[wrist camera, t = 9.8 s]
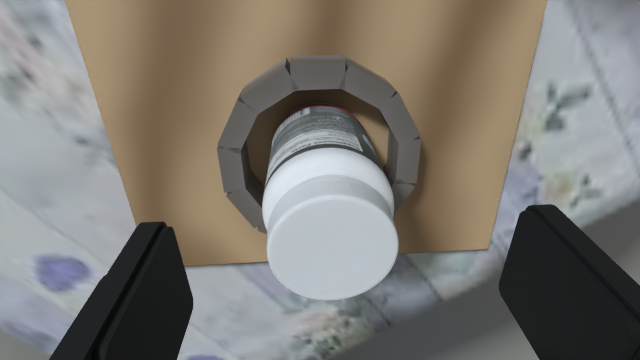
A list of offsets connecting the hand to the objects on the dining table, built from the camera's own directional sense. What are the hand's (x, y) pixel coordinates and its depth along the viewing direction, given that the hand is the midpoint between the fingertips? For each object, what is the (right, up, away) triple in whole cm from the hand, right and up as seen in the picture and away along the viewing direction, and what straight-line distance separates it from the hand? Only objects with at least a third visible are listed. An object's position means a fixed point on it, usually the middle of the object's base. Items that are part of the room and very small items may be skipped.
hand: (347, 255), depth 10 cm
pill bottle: (-1, +4, +8) cm, 9 cm away
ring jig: (-1, +4, +10) cm, 11 cm away
